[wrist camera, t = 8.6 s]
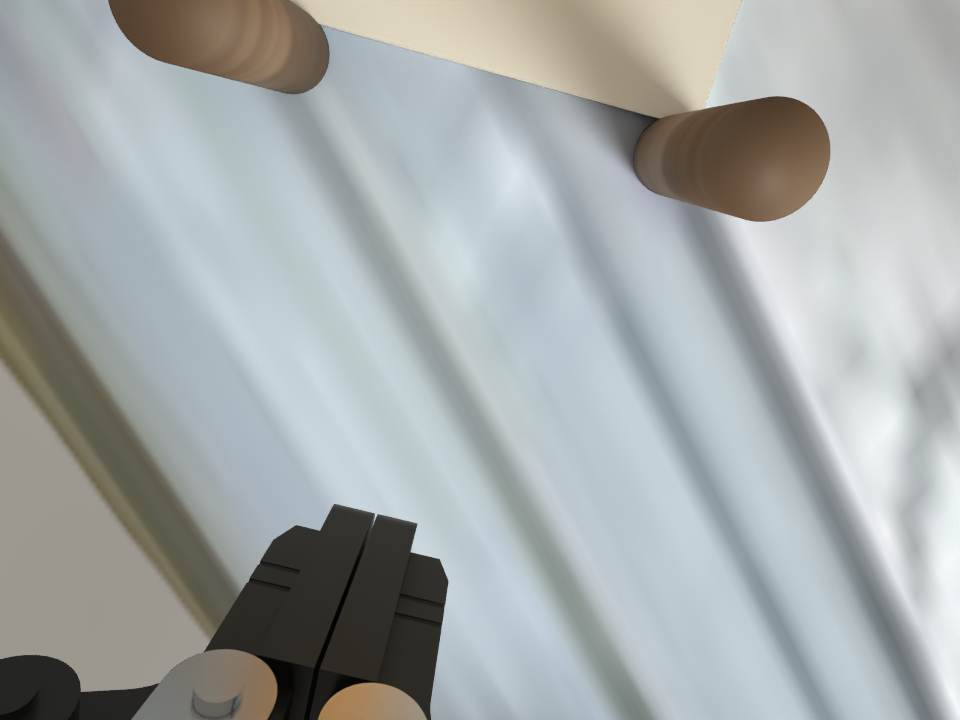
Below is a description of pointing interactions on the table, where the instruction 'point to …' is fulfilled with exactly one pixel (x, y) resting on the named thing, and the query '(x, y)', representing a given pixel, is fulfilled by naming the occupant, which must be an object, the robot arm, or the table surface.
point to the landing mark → (561, 42)
